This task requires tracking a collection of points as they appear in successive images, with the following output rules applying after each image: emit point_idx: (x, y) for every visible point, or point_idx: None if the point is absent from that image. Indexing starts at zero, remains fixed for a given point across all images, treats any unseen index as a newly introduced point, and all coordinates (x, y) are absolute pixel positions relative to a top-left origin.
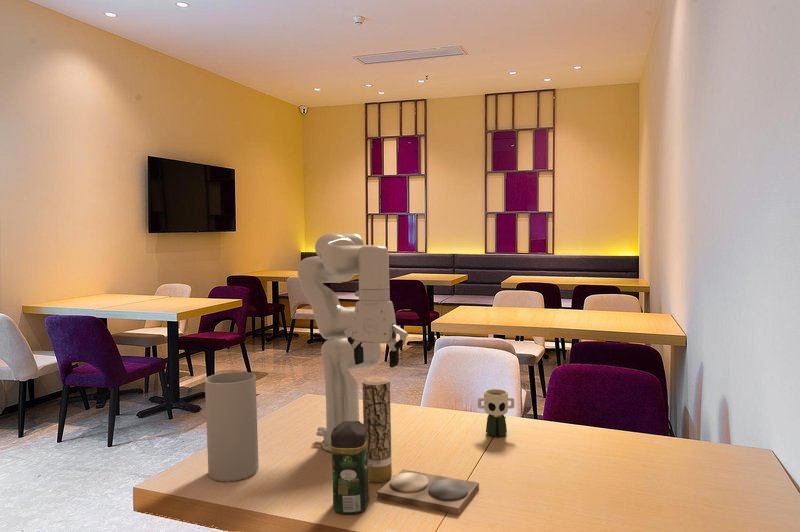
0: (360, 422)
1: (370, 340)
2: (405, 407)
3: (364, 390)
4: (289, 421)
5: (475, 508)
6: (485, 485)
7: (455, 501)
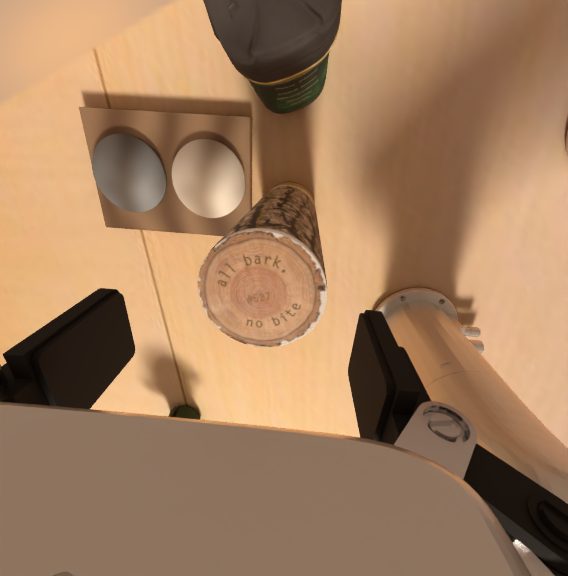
0: (249, 53)
1: (138, 438)
2: None
3: (300, 231)
4: (560, 396)
5: (79, 148)
6: (111, 241)
7: (98, 134)
